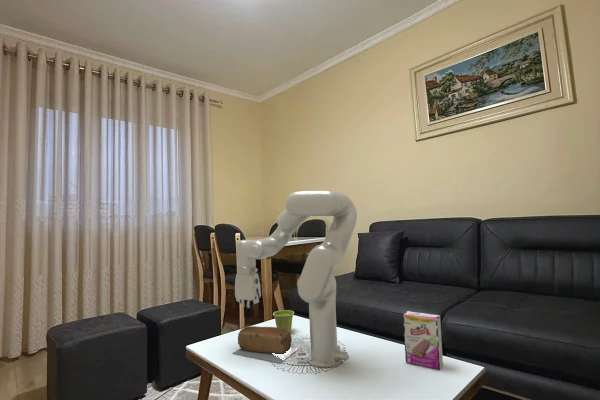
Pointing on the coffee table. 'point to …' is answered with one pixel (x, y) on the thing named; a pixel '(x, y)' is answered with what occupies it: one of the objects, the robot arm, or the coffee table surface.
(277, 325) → the plant pot
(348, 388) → the coffee table surface
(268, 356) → the mat
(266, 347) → the block
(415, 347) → the candy bar box
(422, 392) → the coffee table surface
